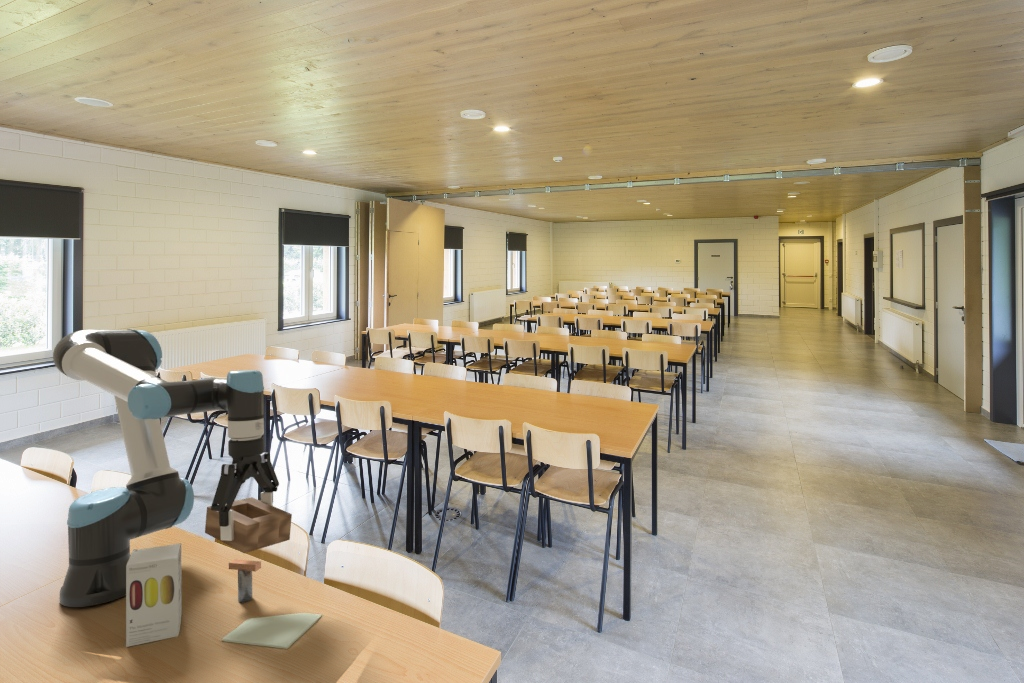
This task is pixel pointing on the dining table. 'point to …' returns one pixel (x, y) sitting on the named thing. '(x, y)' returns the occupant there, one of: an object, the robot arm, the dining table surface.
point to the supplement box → (153, 594)
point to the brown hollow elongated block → (252, 525)
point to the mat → (273, 630)
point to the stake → (244, 577)
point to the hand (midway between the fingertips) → (248, 529)
